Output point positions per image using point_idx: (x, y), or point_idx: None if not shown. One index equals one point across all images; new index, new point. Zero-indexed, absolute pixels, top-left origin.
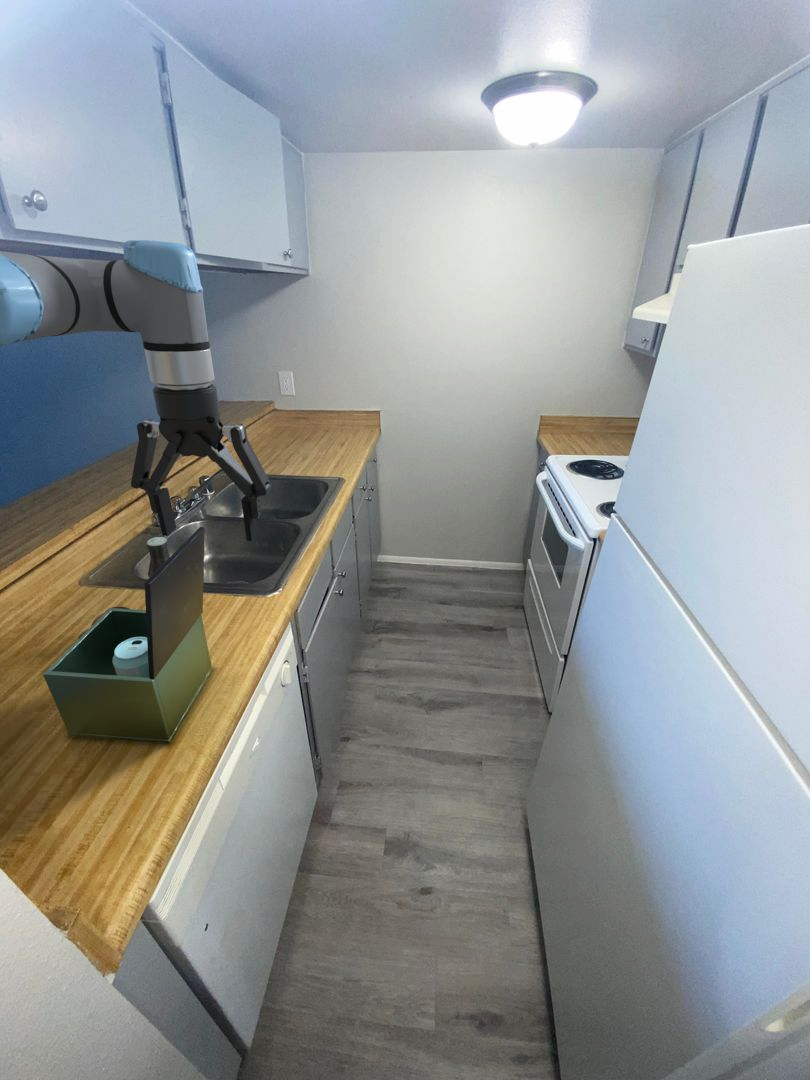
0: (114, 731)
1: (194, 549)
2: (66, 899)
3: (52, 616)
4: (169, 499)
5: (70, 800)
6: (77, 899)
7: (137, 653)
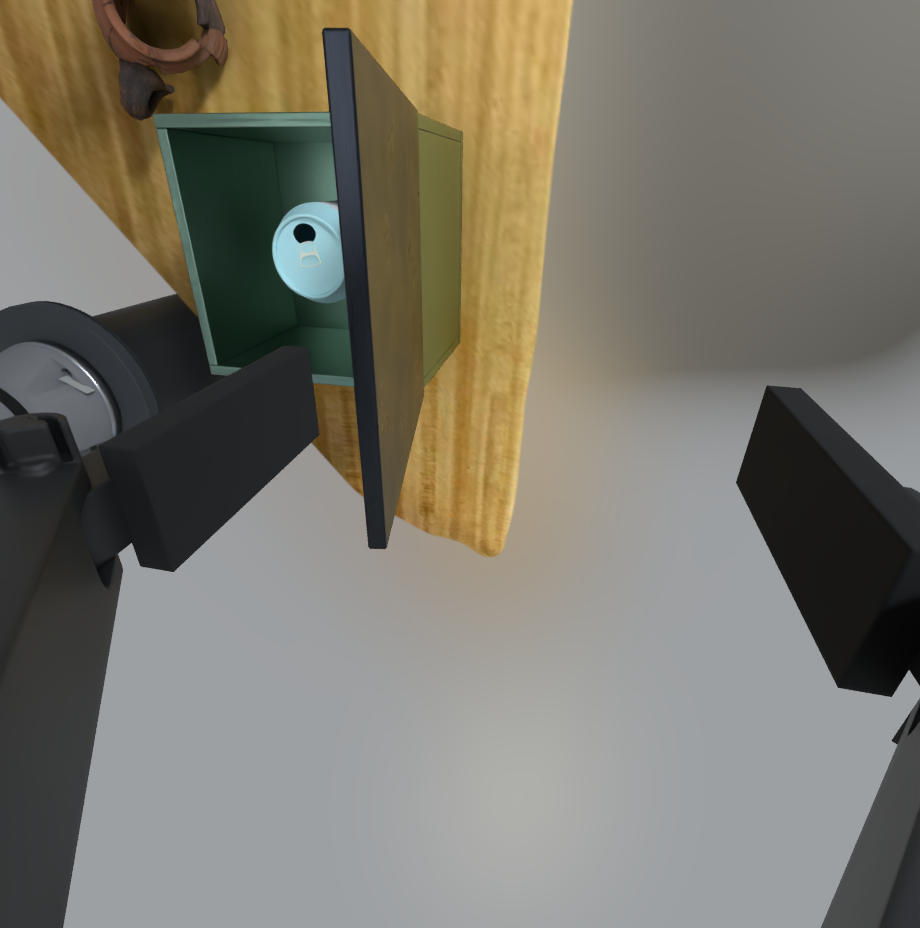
0: None
1: (374, 191)
2: (444, 533)
3: None
4: (200, 420)
5: None
6: (455, 533)
7: (329, 274)
